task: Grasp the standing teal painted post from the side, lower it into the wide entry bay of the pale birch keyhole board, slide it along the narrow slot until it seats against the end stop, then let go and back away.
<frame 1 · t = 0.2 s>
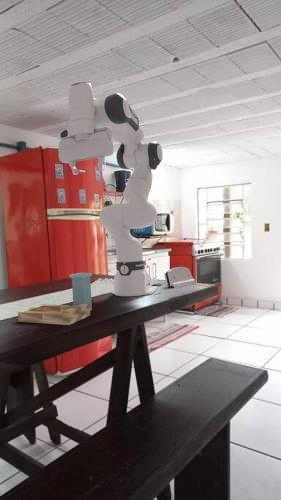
hand: (87, 172, 119), 48 cm above the table, tool pointing down, fingers open, 8 cm apart
keyhole board: (54, 318, 111), on the table
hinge: (179, 285, 168), on the table
post: (82, 311, 119), on the table
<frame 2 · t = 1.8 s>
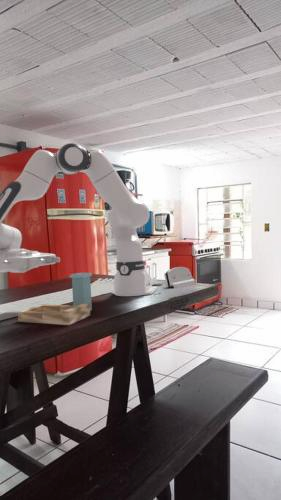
hand: (51, 260, 123), 18 cm above the table, tool horizontal, fingers open, 8 cm apart
nothing on the table moved.
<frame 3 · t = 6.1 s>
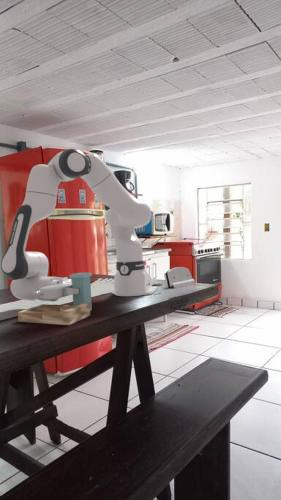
hand: (83, 289, 119), 8 cm above the table, tool horizontal, fingers closed on post, 4 cm apart
post: (82, 311, 119), on the table, touching gripper
everything else where it was.
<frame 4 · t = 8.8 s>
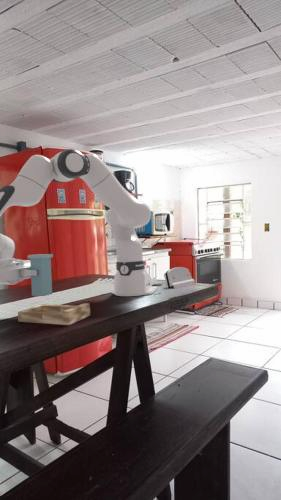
hand: (43, 271, 111), 15 cm above the table, tool horizontal, fingers closed on post, 4 cm apart
post: (42, 294, 112), point 8 cm above the table, touching gripper
everything else where it was.
when the fingers open (9 cm above the table, at t = 11.9 s): post stays where it is, resting on keyhole board.
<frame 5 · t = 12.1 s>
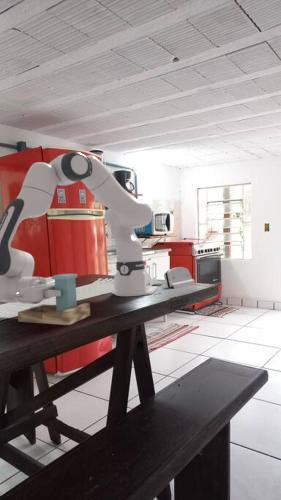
hand: (68, 291, 108), 9 cm above the table, tool horizontal, fingers open, 6 cm apart
post: (67, 316, 109), point 1 cm above the table, touching keyhole board
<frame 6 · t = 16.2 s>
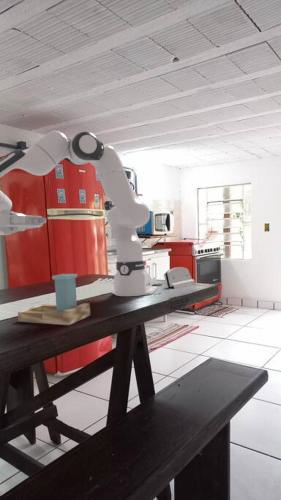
hand: (35, 219, 115), 32 cm above the table, tool horizontal, fingers open, 8 cm apart
at the end: post 0.5 cm from the target spot on the keyhole board, point 1.0 cm above the keyhole board's base; post tilted 0°; the gripper is holding nothing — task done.
